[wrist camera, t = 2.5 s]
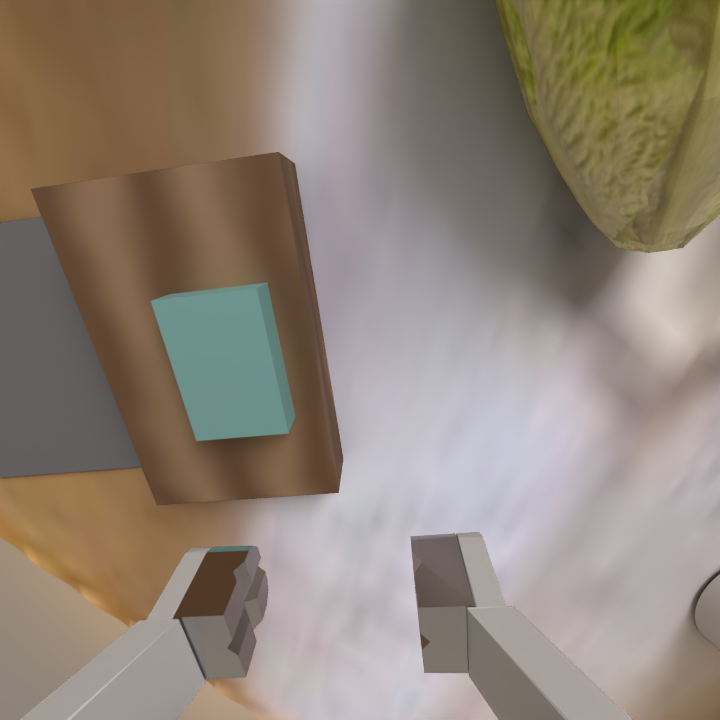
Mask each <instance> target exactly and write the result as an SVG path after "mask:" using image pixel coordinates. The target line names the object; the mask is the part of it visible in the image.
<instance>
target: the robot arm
mask: <svg viewBox="0 0 720 720" xmlns="http://www.w3.org/2000/svg"><path fill="white" fill-rule="evenodd" d="M411 548H412V558H413V569H414V580H415V590H416V599H417V609H418V618H419V628H420V637H421V646H422V655H423V664H424V673H469V677H470V678H471V680H472V681H473V683H474V684H475V686H476V687H477V688H478V690H479V691H480V693H481V694H482V696H483V697H484V699H485V700H486V702H487V703H488V705H489V706H490V708H491V709H492V711H493V712H494V714H495V715H496V716H497V718H498V719H499V720H632V719H631V718H630V717H629V716H628V715H627V714H626V713H625V712H624V711H623V710H622V709H621V708H620V707H619V706H618V705H617V704H616V703H615V702H614V701H613V700H612V699H611V698H609V697H608V696H607V695H606V694H605V693H604V692H603V691H602V690H601V689H600V688H599V687H598V686H597V685H596V684H595V683H594V682H593V681H592V680H591V679H590V678H589V677H588V676H587V675H586V674H584V673H583V672H582V671H581V670H580V669H579V668H578V667H577V666H576V665H575V664H574V663H573V662H572V661H571V660H570V659H569V658H568V657H567V656H566V655H565V654H564V653H563V652H562V651H560V650H559V649H558V648H557V647H556V646H555V645H554V644H553V643H552V642H551V641H550V640H549V639H548V638H547V637H546V636H545V635H544V634H543V633H542V632H541V631H540V630H539V629H538V628H537V627H535V626H534V625H533V624H532V623H531V622H530V621H529V620H528V619H527V618H526V617H525V616H524V615H523V614H522V613H521V612H520V611H519V610H518V609H517V608H516V607H515V606H506V604H505V601H504V599H503V596H502V593H501V590H500V587H499V584H498V581H497V578H496V575H495V572H494V569H493V566H492V563H491V560H490V557H489V554H488V551H487V548H486V545H485V543H484V540H483V537H482V535H481V534H480V533H479V532H472V533H456V534H455V533H453V534H439V535H424V536H411ZM260 559H261V556H260V553H259V550H258V547H256V546H228V547H205V548H191V549H190V550H189V551H187V552H186V553H185V554H184V556H183V558H182V559H181V561H180V563H179V565H178V566H177V568H176V570H175V571H174V573H173V575H172V577H171V578H170V580H169V582H168V583H167V585H166V587H165V588H164V590H163V592H162V594H161V595H160V597H159V599H158V600H157V602H156V604H155V606H154V607H153V609H152V611H151V612H150V614H149V616H148V618H147V619H146V620H139V621H138V622H137V623H136V624H134V625H133V626H132V627H131V628H130V629H128V630H127V631H126V632H125V633H124V634H122V635H121V636H120V637H119V638H118V639H116V640H115V641H114V642H113V643H112V644H110V645H109V646H108V647H107V648H106V649H104V650H103V651H102V652H101V653H100V654H98V655H97V656H96V657H95V658H94V659H92V660H91V661H90V662H89V663H88V664H86V665H85V666H84V667H83V668H82V669H81V670H79V671H78V672H77V673H75V674H74V675H73V676H72V677H71V678H69V679H68V680H67V681H66V682H65V683H63V684H62V685H61V686H60V687H59V688H58V689H56V690H55V691H54V692H53V693H51V694H50V695H49V696H48V697H47V698H46V699H44V700H43V701H42V702H41V703H39V704H38V705H37V706H36V707H35V708H33V709H32V710H31V711H30V712H29V713H27V714H26V715H25V716H24V717H23V718H21V719H20V720H177V719H178V717H179V716H180V715H181V713H182V712H183V711H184V710H185V708H186V707H187V706H188V705H189V703H190V702H191V701H192V699H193V698H194V697H195V696H196V694H197V693H198V692H199V690H200V689H201V688H202V686H203V685H204V684H205V682H206V681H205V679H222V678H239V677H246V676H247V672H248V669H249V665H250V662H251V659H252V655H253V652H254V648H255V645H256V642H257V641H256V638H255V635H254V631H253V629H254V628H255V627H256V626H257V625H258V624H259V623H260V622H261V621H262V620H263V617H264V613H265V610H266V606H267V597H268V581H267V577H266V573H265V571H264V570H262V569H261V568H260V567H259V566H258V565H259V562H260ZM695 622H696V625H697V628H698V630H699V631H700V633H701V634H702V635H703V636H704V637H705V638H706V639H707V640H708V641H709V642H711V643H712V644H713V645H714V646H716V647H717V648H718V649H719V650H720V574H719V575H718V576H717V577H716V578H715V579H714V580H713V581H712V582H711V583H710V584H709V585H708V586H707V587H706V589H705V590H704V591H703V593H702V594H701V596H700V598H699V600H698V602H697V605H696V609H695Z"/></svg>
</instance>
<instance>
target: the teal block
mask: <svg viewBox="0 0 720 720" xmlns="http://www.w3.org/2000/svg"><path fill="white" fill-rule="evenodd" d="M151 304H152V307H153V310H154V313H155V316H156V319H157V322H158V325H159V328H160V331H161V335H162V338H163V341H164V344H165V347H166V350H167V353H168V356H169V359H170V362H171V365H172V368H173V371H174V374H175V377H176V380H177V383H178V387H179V390H180V393H181V396H182V399H183V402H184V405H185V408H186V411H187V414H188V417H189V420H190V423H191V426H192V429H193V432H194V435H195V439H196V441H203V440H215V439H227V438H239V437H251V436H263V435H275V434H288V433H289V431H290V429H291V427H292V424H293V422H294V419H295V413H294V408H293V403H292V398H291V393H290V389H289V384H288V379H287V374H286V370H285V365H284V360H283V355H282V350H281V346H280V341H279V336H278V331H277V327H276V322H275V317H274V312H273V307H272V303H271V298H270V293H269V288H268V284H267V283H260V284H251V285H243V286H234V287H226V288H217V289H209V290H201V291H192V292H184V293H175V294H169V295H166V296H163V297H160V298H158V299H155V300H152V301H151Z"/></svg>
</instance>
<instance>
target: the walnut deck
mask: <svg viewBox="0 0 720 720" xmlns="http://www.w3.org/2000/svg"><path fill="white" fill-rule="evenodd" d="M31 191H32V194H33V196H34V199H35V201H36V204H37V206H38V209H39V211H40V214H41V216H42V219H43V221H44V224H45V226H46V229H47V231H48V234H49V236H50V239H51V241H52V244H53V246H54V249H55V251H56V254H57V256H58V259H59V261H60V264H61V266H62V269H63V271H64V274H65V276H66V279H67V281H68V284H69V286H70V289H71V291H72V294H73V296H74V299H75V301H76V304H77V306H78V309H79V311H80V314H81V316H82V319H83V321H84V324H85V326H86V329H87V331H88V334H89V336H90V339H91V341H92V344H93V346H94V349H95V351H96V354H97V356H98V359H99V361H100V364H101V366H102V369H103V371H104V374H105V376H106V379H107V381H108V384H109V386H110V389H111V391H112V394H113V396H114V399H115V401H116V404H117V406H118V409H119V411H120V414H121V416H122V419H123V421H124V424H125V426H126V429H127V431H128V434H129V436H130V439H131V441H132V444H133V446H134V449H135V451H136V454H137V456H138V459H139V461H140V464H141V466H142V469H143V471H144V474H145V476H146V479H147V481H148V484H149V486H150V489H151V491H152V494H153V496H154V499H155V501H156V504H157V505H167V504H181V503H196V502H211V501H225V500H240V499H255V498H269V497H284V496H299V495H313V494H328V493H339V486H340V479H341V472H342V465H343V455H342V448H341V442H340V436H339V430H338V424H337V418H336V412H335V406H334V400H333V394H332V387H331V381H330V375H329V369H328V363H327V357H326V351H325V345H324V339H323V333H322V327H321V320H320V314H319V308H318V302H317V296H316V290H315V284H314V278H313V272H312V266H311V260H310V253H309V247H308V241H307V235H306V229H305V223H304V217H303V211H302V205H301V199H300V192H299V186H298V180H297V174H296V168H295V163H293V162H292V161H290V160H289V159H288V158H286V157H285V156H283V155H282V154H281V153H279V152H275V153H269V154H262V155H255V156H249V157H242V158H235V159H228V160H222V161H215V162H208V163H202V164H195V165H188V166H182V167H175V168H168V169H161V170H155V171H148V172H141V173H135V174H128V175H121V176H115V177H108V178H101V179H95V180H88V181H81V182H74V183H68V184H61V185H54V186H48V187H41V188H34V189H31ZM260 283H267V284H268V288H269V293H270V298H271V303H272V307H273V312H274V317H275V322H276V327H277V331H278V336H279V341H280V346H281V350H282V355H283V360H284V365H285V370H286V374H287V379H288V384H289V389H290V393H291V398H292V403H293V408H294V413H295V419H294V422H293V424H292V427H291V429H290V431H289V433H288V434H275V435H263V436H251V437H239V438H227V439H215V440H203V441H196V439H195V435H194V432H193V429H192V426H191V423H190V420H189V417H188V414H187V411H186V408H185V405H184V402H183V399H182V396H181V393H180V390H179V387H178V383H177V380H176V377H175V374H174V371H173V368H172V365H171V362H170V359H169V356H168V353H167V350H166V347H165V344H164V341H163V338H162V335H161V331H160V328H159V325H158V322H157V319H156V316H155V313H154V310H153V307H152V304H151V301H152V300H155V299H158V298H160V297H163V296H166V295H169V294H175V293H184V292H192V291H201V290H209V289H217V288H226V287H234V286H243V285H251V284H260Z"/></svg>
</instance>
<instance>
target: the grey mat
mask: <svg viewBox="0 0 720 720" xmlns="http://www.w3.org/2000/svg"><path fill="white" fill-rule="evenodd" d="M132 467H142V466H141V464H140V461H139V459H138V456H137V454H136V451H135V449H134V446H133V444H132V441H131V439H130V436H129V434H128V431H127V429H126V426H125V424H124V421H123V419H122V416H121V414H120V411H119V409H118V406H117V404H116V401H115V399H114V396H113V394H112V391H111V389H110V386H109V384H108V381H107V379H106V376H105V374H104V371H103V369H102V366H101V364H100V361H99V359H98V356H97V354H96V351H95V349H94V346H93V344H92V341H91V339H90V336H89V334H88V331H87V329H86V326H85V324H84V321H83V319H82V316H81V314H80V311H79V309H78V306H77V304H76V301H75V299H74V296H73V294H72V291H71V289H70V286H69V284H68V281H67V279H66V276H65V274H64V271H63V269H62V266H61V264H60V261H59V259H58V256H57V254H56V251H55V249H54V246H53V244H52V241H51V239H50V236H49V234H48V231H47V229H46V226H45V224H44V221H43V219H42V217H39V218H32V219H24V220H17V221H10V222H3V223H0V478H4V477H17V476H30V475H42V474H55V473H68V472H81V471H94V470H107V469H120V468H132Z"/></svg>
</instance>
